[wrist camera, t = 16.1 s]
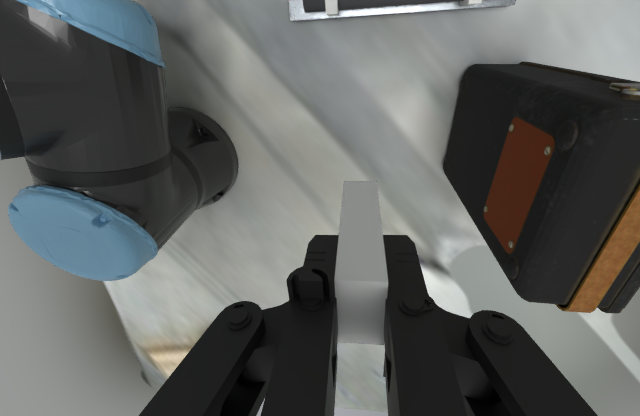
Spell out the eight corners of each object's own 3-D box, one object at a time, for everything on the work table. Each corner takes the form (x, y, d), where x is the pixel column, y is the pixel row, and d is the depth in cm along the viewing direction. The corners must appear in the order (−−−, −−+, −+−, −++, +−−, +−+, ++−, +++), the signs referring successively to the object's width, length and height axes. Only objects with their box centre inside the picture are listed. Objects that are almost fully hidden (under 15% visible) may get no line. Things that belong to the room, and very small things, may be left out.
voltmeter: (498, 179, 43) (635, 324, 22) (436, 176, 44) (509, 313, 23) (538, 58, 36) (810, 99, 14) (461, 58, 36) (608, 96, 15)
